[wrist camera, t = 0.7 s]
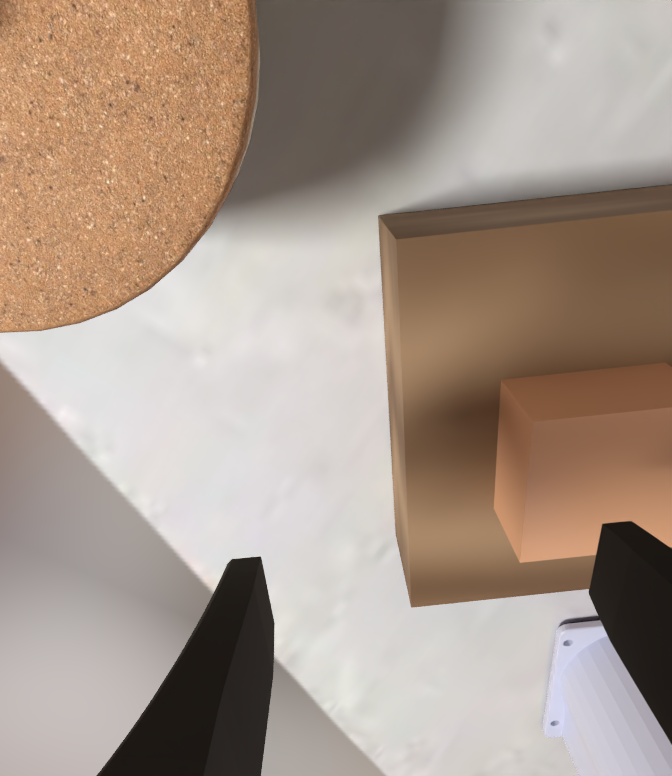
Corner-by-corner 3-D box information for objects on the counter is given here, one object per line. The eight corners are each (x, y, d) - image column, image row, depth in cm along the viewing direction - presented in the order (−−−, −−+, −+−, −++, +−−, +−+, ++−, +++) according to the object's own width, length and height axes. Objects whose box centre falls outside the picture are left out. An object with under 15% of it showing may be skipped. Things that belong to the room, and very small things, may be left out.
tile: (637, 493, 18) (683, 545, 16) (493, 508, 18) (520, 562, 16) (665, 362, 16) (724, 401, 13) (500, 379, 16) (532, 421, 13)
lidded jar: (337, 165, 16) (367, 206, 8) (58, 303, 18) (-158, 456, 10) (146, -297, 12) (-240, -1301, 4) (-207, -57, 13) (-1052, -357, 5)
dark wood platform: (723, 500, 24) (797, 566, 20) (395, 534, 24) (411, 607, 20) (827, 168, 17) (963, 178, 14) (378, 215, 17) (395, 239, 14)
